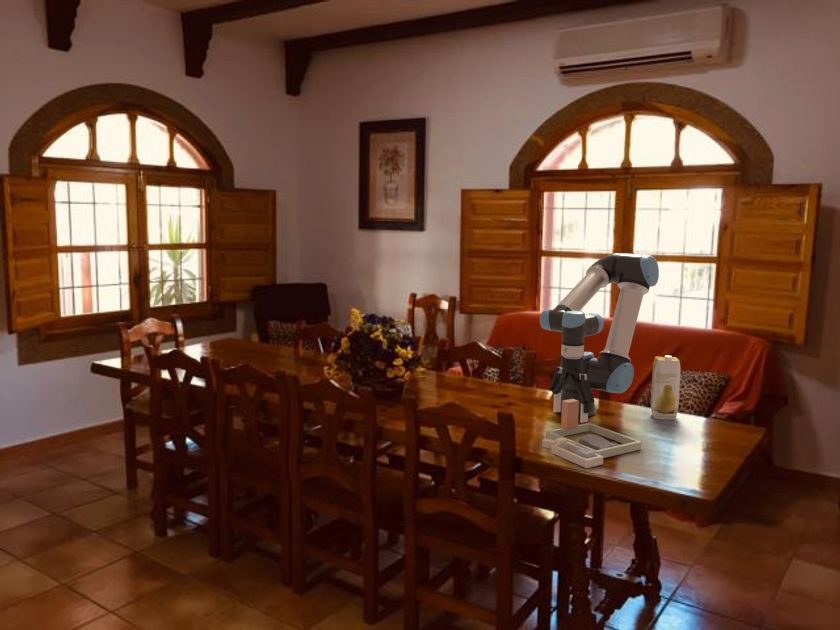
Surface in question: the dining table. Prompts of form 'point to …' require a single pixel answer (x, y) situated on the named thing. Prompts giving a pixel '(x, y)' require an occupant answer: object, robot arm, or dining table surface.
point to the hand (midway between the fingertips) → (570, 416)
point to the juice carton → (665, 387)
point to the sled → (563, 446)
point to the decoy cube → (586, 453)
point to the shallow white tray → (571, 427)
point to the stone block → (596, 442)
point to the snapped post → (548, 443)
